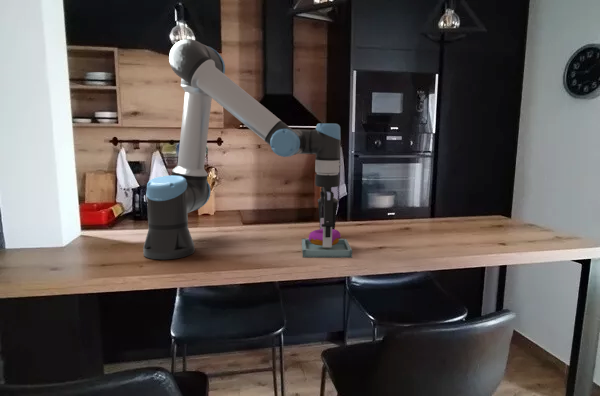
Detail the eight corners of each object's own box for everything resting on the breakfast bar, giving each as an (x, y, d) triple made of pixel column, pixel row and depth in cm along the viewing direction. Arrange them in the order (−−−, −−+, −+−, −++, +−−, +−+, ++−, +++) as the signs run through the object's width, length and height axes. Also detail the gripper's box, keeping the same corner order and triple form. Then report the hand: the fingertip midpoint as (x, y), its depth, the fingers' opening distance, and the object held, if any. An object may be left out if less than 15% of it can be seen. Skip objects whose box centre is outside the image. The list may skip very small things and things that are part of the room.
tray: (302, 257, 127) (303, 250, 127) (301, 244, 141) (301, 238, 141) (352, 257, 128) (352, 250, 127) (346, 245, 141) (346, 238, 141)
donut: (325, 238, 141) (325, 224, 140) (347, 244, 133) (348, 230, 133) (302, 243, 134) (302, 229, 134) (323, 250, 127) (324, 235, 126)
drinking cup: (336, 240, 148) (337, 184, 144) (315, 238, 149) (316, 183, 146) (338, 235, 155) (340, 181, 152) (318, 233, 157) (319, 180, 153)
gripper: (344, 178, 119) (341, 252, 122) (335, 170, 142) (333, 233, 145) (317, 177, 119) (316, 252, 122) (313, 169, 142) (312, 232, 145)
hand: (325, 242), depth 134 cm, fingers closed on donut, 11 cm apart
